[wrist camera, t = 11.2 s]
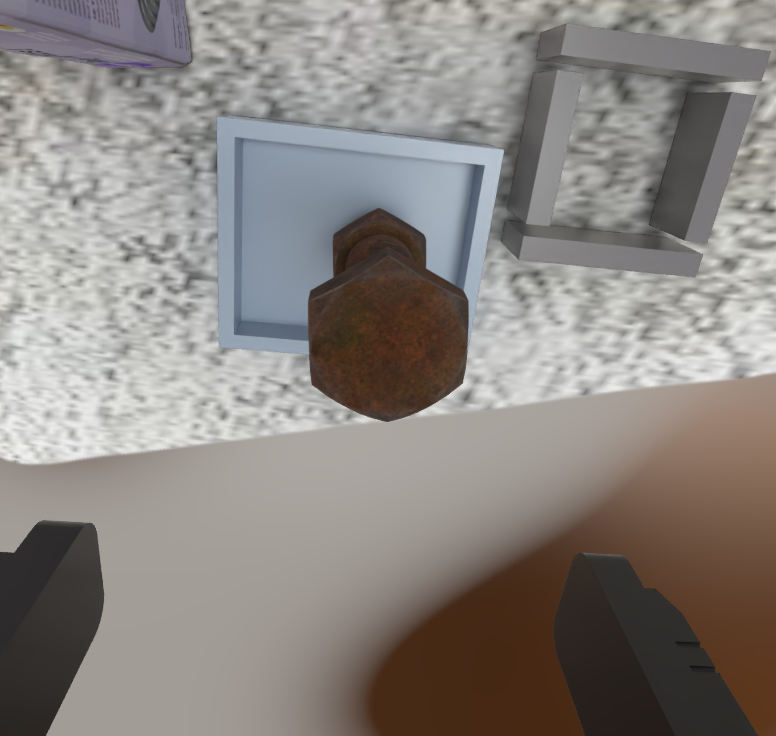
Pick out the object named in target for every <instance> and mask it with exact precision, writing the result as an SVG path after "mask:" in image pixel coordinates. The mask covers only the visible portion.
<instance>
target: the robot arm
mask: <svg viewBox="0 0 776 736" xmlns="http://www.w3.org/2000/svg"><path fill="white" fill-rule="evenodd" d="M103 604H104V589H103V580H102V572H101V564H100V555H99V547H98V538H97V531H96V528H95V526H94V525H93V524H92V523H83V522H65V521H47V520H43V521H40V522H38V523H37V524H36V525H35V526H34V527H33V529H32V530H31V531H30V533H29V534H28V535H27V537H26V538H25V539H24V540H23V542H22V543H21V544H20V546H19V547H18V548H17V550H16V551H15V552H14V553H8V552H0V736H46V734H47V732H48V730H49V728H50V726H51V724H52V722H53V720H54V718H55V716H56V714H57V712H58V710H59V708H60V706H61V704H62V702H63V700H64V698H65V696H66V694H67V692H68V690H69V688H70V686H71V683H72V681H73V679H74V677H75V675H76V673H77V671H78V669H79V667H80V665H81V663H82V661H83V659H84V657H85V655H86V653H87V651H88V649H89V647H90V644H91V642H92V641H93V638H94V636H95V634H96V632H97V629H98V627H99V623H100V620H101V616H102V611H103ZM554 642H555V649H556V654H557V657H558V660H559V662H560V666H561V668H562V671H563V674H564V677H565V680H566V683H567V686H568V688H569V691H570V694H571V696H572V700H573V703H574V705H575V708H576V711H577V714H578V717H579V720H580V723H581V725H582V728H583V731H584V734H585V736H758V735H757V733H756V732H755V730H754V728H753V727H752V725H751V724H750V722H749V720H748V719H747V717H746V716H745V714H744V712H743V711H742V709H741V708H740V706H739V705H738V703H737V701H736V700H735V698H734V696H733V695H732V693H731V692H730V690H729V688H728V687H727V685H726V683H725V682H724V680H723V679H722V677H721V675H720V674H719V673H716V672H715V666H714V664H713V663H712V661H711V659H710V658H709V656H708V654H707V653H706V651H705V650H704V648H701V647H700V642H699V640H698V638H697V637H696V635H695V634H694V632H693V630H692V629H691V627H690V625H689V624H688V622H687V621H686V619H685V617H684V616H683V614H682V613H681V612H680V611H679V610H678V609H677V608H676V607H674V606H673V605H672V604H671V603H670V602H669V601H668V600H667V599H666V598H665V597H664V596H663V595H662V594H661V593H659V592H658V591H657V590H656V589H651V588H644V587H643V585H642V583H641V582H640V580H639V578H638V576H637V575H636V573H635V571H634V570H633V568H632V566H631V564H630V563H629V561H628V560H627V559H626V558H625V557H624V556H621V555H608V554H591V553H578V554H577V555H576V556H575V557H574V559H573V561H572V564H571V567H570V570H569V574H568V577H567V580H566V583H565V587H564V590H563V593H562V596H561V599H560V603H559V606H558V609H557V612H556V616H555V621H554Z"/></svg>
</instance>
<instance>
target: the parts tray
mask: <svg viewBox="0 0 776 736" xmlns="http://www.w3.org/2000/svg"><path fill="white" fill-rule="evenodd" d="M503 153H504V150H503V149H500V148H498V147H495V146H492V145H486V144H478V143H469V142H460V141H452V140H443V139H435V138H426V137H417V136H409V135H400V134H392V133H383V132H375V131H366V130H357V129H349V128H340V127H332V126H323V125H314V124H306V123H297V122H289V121H280V120H272V119H263V118H254V117H246V116H237V115H224V116H217V177H218V297H219V347H222V348H234V349H246V350H258V351H270V352H283V353H295V354H307V355H309V338H308V298H309V294H310V290H312V289H314V288H316V287H317V286H319V285H321V284H323V283H324V282H326V281H328V280H330V279H331V278H333V235H334V234H335V233H336V232H337V231H339V230H340V229H342V228H343V227H345V226H346V225H348V224H350V223H351V222H353V221H355V220H356V219H358V218H360V217H362V216H363V215H365V214H367V213H369V212H371V211H373V210H375V209H377V208H381V209H383V210H385V211H387V212H389V213H391V214H392V215H394V216H396V217H398V218H399V219H401V220H403V221H404V222H406V223H408V224H409V225H411V226H413V227H414V228H416V229H417V230H418V231H420V232H421V233H423V234H424V235H425V238H426V269H428V270H430V271H431V272H433V273H435V274H437V275H438V276H440V277H442V278H444V279H445V280H447V281H449V282H450V283H452V284H454V285H456V286H457V287H459V288H461V289H462V290H464V292H465V294H466V296H467V298H468V300H469V328H468V347H469V342H470V336H471V331H472V325H473V320H474V314H475V308H476V303H477V297H478V292H479V286H480V281H481V275H482V270H483V264H484V259H485V253H486V248H487V242H488V236H489V231H490V225H491V220H492V214H493V209H494V203H495V198H496V192H497V187H498V181H499V176H500V170H501V164H502V159H503ZM468 347H467V353H468Z"/></svg>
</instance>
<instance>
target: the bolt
mask: <svg viewBox="0 0 776 736" xmlns="http://www.w3.org/2000/svg"><path fill="white" fill-rule="evenodd" d="M468 328H469V300H468V298H467V296H466V294H465V292H464V290H462V289H461V288H459V287H457V286H456V285H454V284H452V283H450V282H449V281H447V280H445V279H444V278H442V277H440V276H438V275H437V274H435V273H433V272H431V271H430V270H428V269H426V238H425V235H424V234H423V233H421V232H420V231H418V230H417V229H416V228H414V227H413V226H411V225H409V224H408V223H406V222H404V221H403V220H401V219H399V218H398V217H396V216H394V215H392V214H391V213H389V212H387V211H385V210H383V209H381V208H377V209H375V210H373V211H371V212H369V213H367V214H365V215H363V216H362V217H360V218H358V219H356V220H355V221H353V222H351V223H350V224H348V225H346V226H345V227H343V228H342V229H340V230H339V231H337V232H336V233H335V234H334V235H333V278H331V279H330V280H328V281H326V282H324V283H323V284H321V285H319V286H317V287H316V288H314V289H312V290H310V294H309V298H308V338H309V361H310V373H311V381H312V385H313V386H314V387H316V388H317V389H318V390H320V391H321V392H322V393H324V394H325V395H326V396H328V397H330V398H331V399H333V400H335V401H336V402H338V403H340V404H341V405H343V406H345V407H347V408H349V409H351V410H353V411H355V412H357V413H359V414H362V415H365V416H367V417H370V418H373V419H377V420H382V421H386V422H389V421H393V420H397V419H401V418H404V417H407V416H410V415H412V414H415V413H417V412H419V411H421V410H423V409H425V408H427V407H429V406H431V405H433V404H434V403H436V402H438V401H439V400H441V399H442V398H444V397H446V396H447V395H449V394H450V393H451V392H452V391H454V390H455V389H456V388H457V387H459V386H460V385H461V384H463V379H464V374H465V369H466V361H467V347H468Z"/></svg>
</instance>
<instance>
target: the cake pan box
mask: <svg viewBox="0 0 776 736" xmlns="http://www.w3.org/2000/svg"><path fill="white" fill-rule="evenodd" d="M0 50H2V51H8V52H14V53H21V54H27V55H35V56H44V57H53V58H59V59H65V60H71V61H75V62H82V63H87V64H92V65H97V66H103V67H109V68H140V67H183V66H185V65H186V64H187V63H191V61H192V55H191V46H190V38H189V34H188V27H187V19H186V12H185V5H184V0H0Z"/></svg>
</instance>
